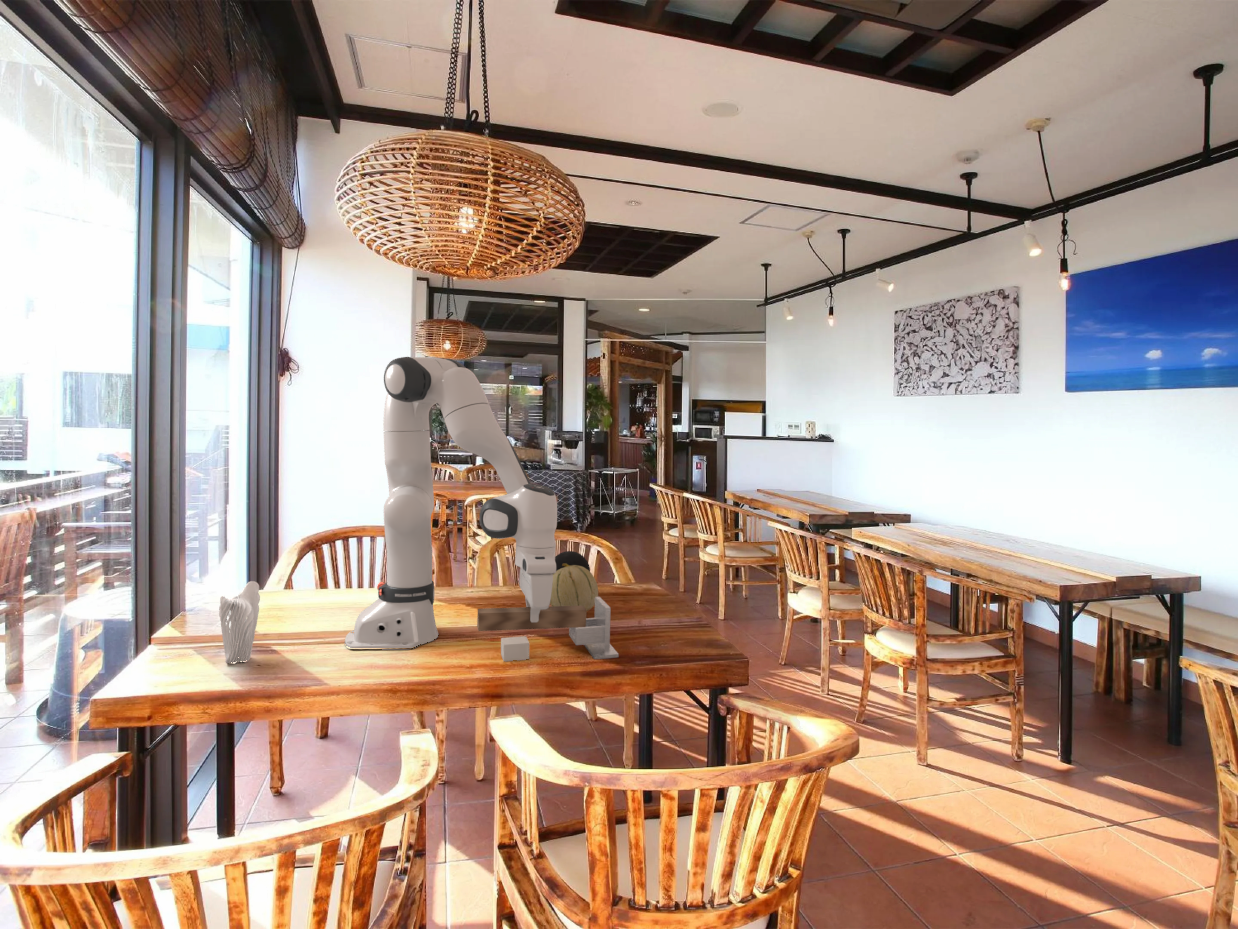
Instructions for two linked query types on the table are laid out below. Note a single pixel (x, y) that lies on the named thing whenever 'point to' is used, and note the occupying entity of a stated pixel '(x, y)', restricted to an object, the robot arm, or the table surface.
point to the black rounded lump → (570, 560)
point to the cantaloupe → (574, 587)
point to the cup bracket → (596, 633)
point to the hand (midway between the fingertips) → (532, 618)
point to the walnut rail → (521, 618)
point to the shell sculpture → (239, 622)
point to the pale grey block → (514, 648)
